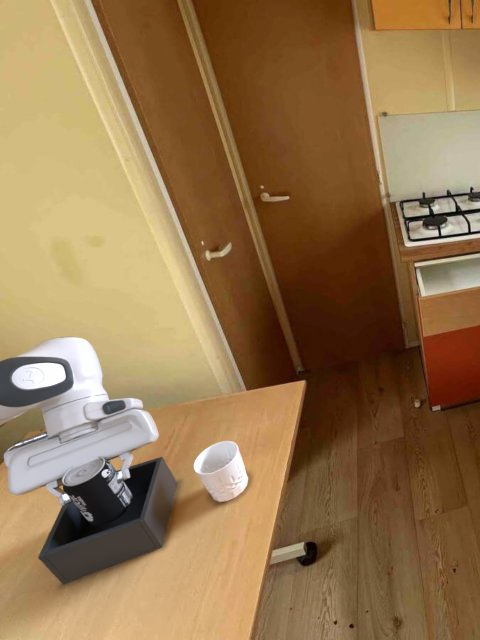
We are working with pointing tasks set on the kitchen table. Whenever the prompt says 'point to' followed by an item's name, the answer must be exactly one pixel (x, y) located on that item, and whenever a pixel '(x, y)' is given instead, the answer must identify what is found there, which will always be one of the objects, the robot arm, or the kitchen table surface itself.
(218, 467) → the white cup
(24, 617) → the kitchen table surface
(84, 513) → the beverage can
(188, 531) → the kitchen table surface
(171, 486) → the bin
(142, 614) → the kitchen table surface
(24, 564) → the kitchen table surface
